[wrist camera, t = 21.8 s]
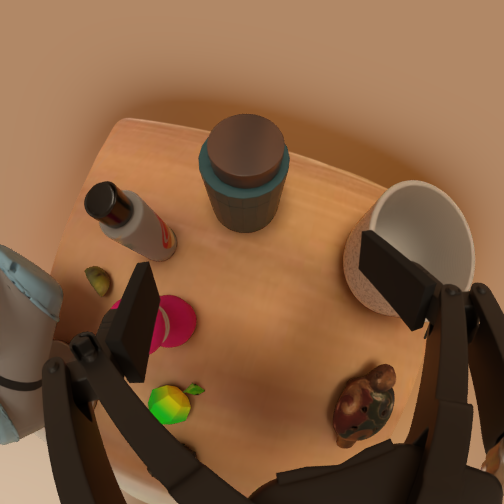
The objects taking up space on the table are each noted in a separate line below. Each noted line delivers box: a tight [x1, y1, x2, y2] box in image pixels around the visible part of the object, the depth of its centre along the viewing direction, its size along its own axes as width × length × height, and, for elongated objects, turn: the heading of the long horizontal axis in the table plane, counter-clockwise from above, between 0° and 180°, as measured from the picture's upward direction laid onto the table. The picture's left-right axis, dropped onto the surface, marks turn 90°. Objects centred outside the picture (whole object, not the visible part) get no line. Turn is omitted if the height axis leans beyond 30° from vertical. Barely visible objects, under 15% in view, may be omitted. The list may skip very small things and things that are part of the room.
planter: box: [343, 180, 475, 322], centre depth 34 cm, size 17×17×15 cm
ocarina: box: [333, 364, 396, 448], centre depth 34 cm, size 10×15×8 cm, turn 166°
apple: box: [148, 383, 205, 424], centre depth 35 cm, size 7×6×9 cm
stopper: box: [207, 114, 285, 189], centre depth 31 cm, size 8×8×8 cm
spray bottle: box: [84, 181, 177, 261], centre depth 32 cm, size 6×6×20 cm
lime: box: [85, 266, 110, 297], centre depth 38 cm, size 4×5×5 cm
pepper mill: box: [111, 295, 196, 354], centre depth 30 cm, size 7×7×20 cm
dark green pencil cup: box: [199, 138, 290, 233], centre depth 36 cm, size 10×10×14 cm
